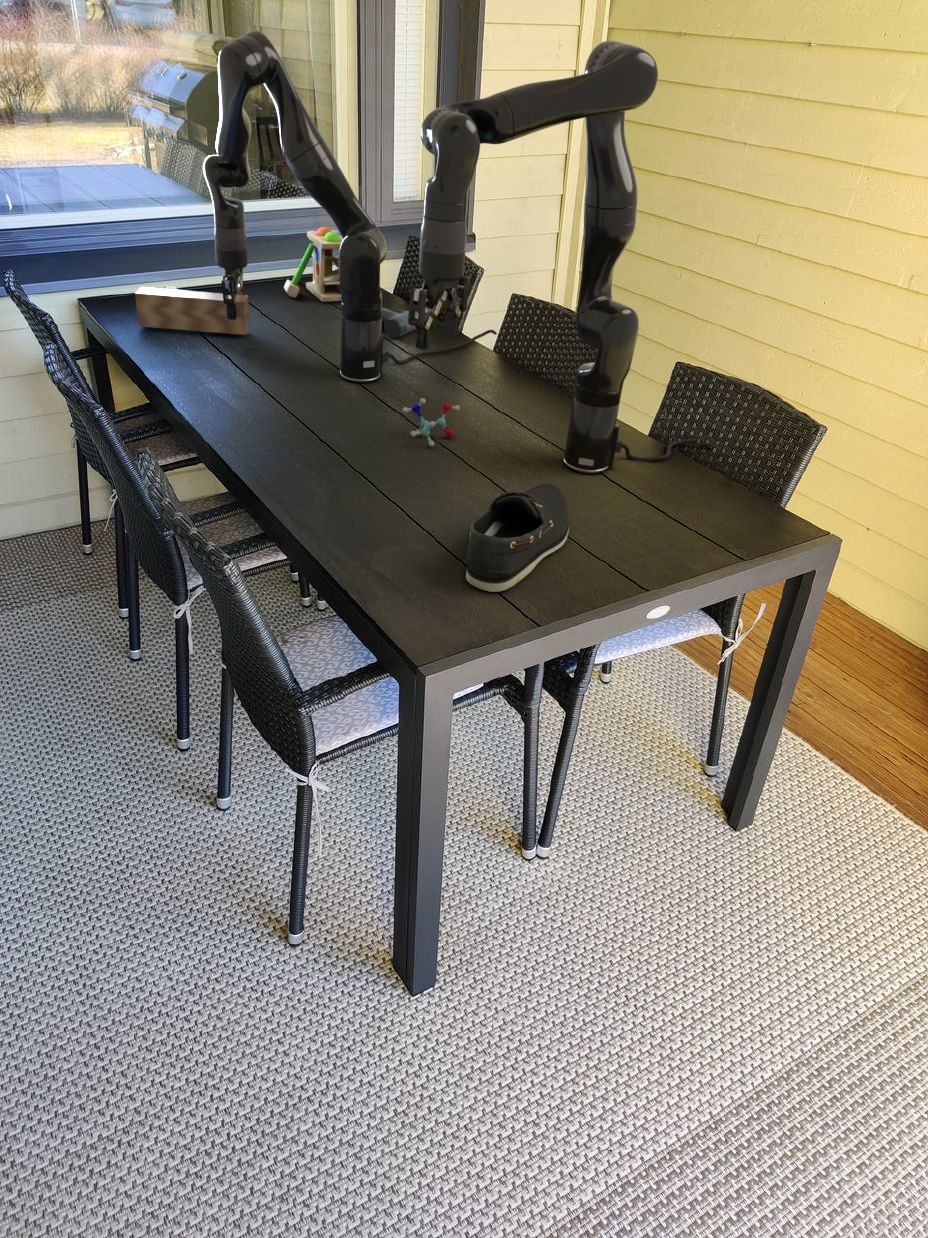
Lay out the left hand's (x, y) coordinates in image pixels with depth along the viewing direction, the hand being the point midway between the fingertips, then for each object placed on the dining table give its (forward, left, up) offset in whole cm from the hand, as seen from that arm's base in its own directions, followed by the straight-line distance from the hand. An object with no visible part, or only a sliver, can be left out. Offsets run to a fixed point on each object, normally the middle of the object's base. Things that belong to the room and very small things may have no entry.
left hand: (234, 314), depth 245 cm
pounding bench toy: (-43, -7, -5) cm, 44 cm away
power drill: (-36, +22, -5) cm, 42 cm away
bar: (+6, -9, -4) cm, 11 cm away
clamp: (-8, -28, -5) cm, 30 cm away
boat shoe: (+45, +110, -5) cm, 119 cm away
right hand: (+38, +86, +24) cm, 97 cm away
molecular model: (+18, +72, -5) cm, 74 cm away
